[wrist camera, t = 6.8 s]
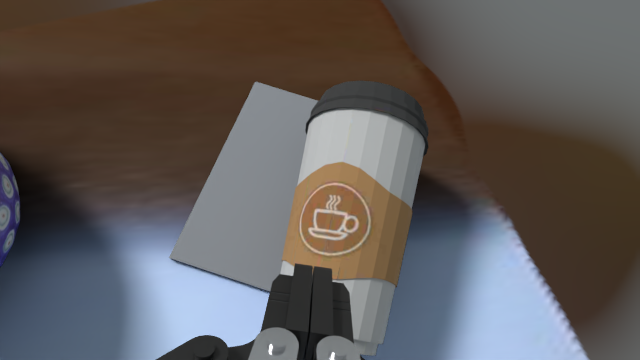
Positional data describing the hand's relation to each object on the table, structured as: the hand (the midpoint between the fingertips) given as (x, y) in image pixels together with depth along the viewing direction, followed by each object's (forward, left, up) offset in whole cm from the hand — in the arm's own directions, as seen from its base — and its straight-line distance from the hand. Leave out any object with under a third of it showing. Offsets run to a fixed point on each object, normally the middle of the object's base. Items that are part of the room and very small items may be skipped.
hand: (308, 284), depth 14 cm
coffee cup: (-2, -2, -7) cm, 8 cm away
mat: (+8, +2, -11) cm, 14 cm away
